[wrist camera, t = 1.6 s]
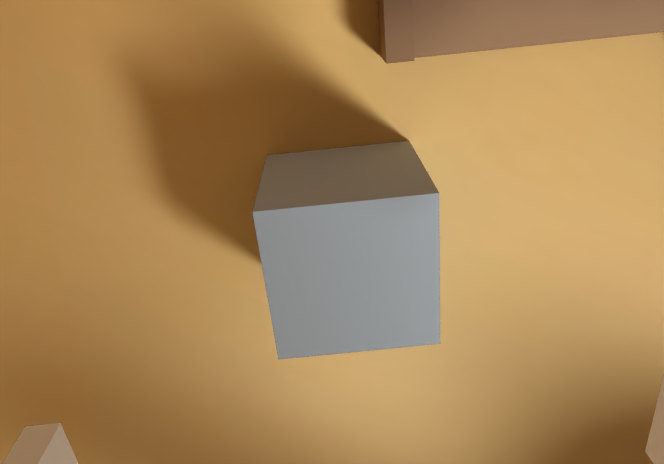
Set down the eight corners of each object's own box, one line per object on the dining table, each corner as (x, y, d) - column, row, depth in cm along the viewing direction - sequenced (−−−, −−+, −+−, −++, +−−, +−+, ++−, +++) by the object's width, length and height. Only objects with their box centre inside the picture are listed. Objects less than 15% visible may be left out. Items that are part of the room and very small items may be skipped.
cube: (412, 263, 25) (440, 343, 20) (285, 276, 25) (278, 359, 20) (408, 139, 22) (439, 193, 17) (266, 154, 22) (252, 212, 17)
